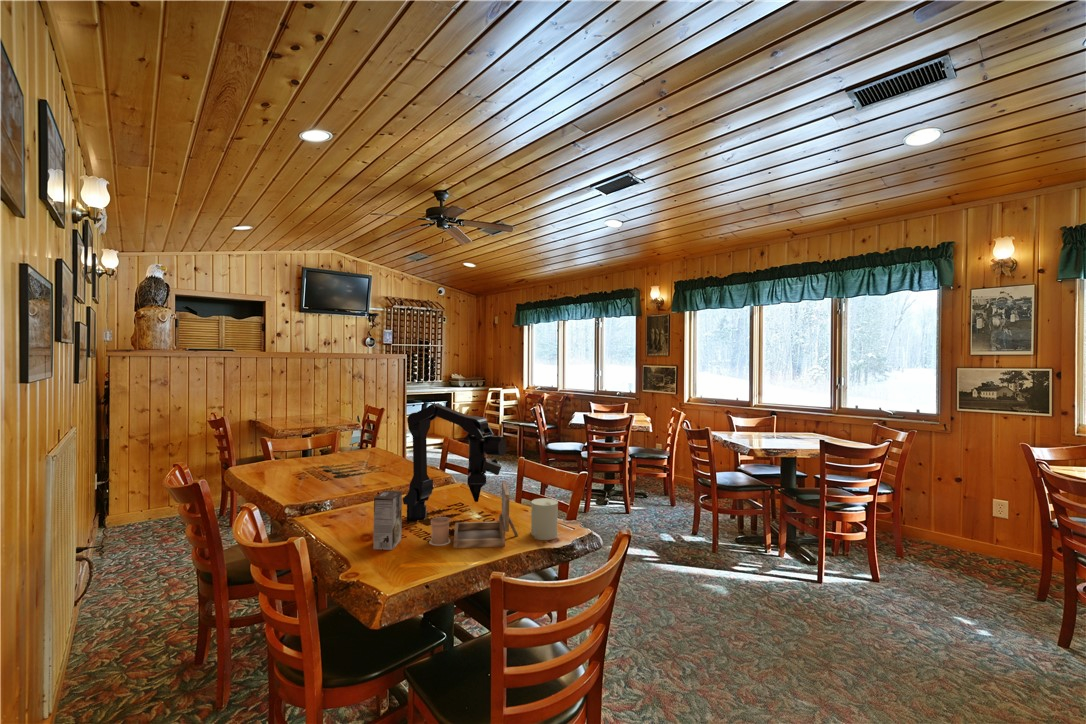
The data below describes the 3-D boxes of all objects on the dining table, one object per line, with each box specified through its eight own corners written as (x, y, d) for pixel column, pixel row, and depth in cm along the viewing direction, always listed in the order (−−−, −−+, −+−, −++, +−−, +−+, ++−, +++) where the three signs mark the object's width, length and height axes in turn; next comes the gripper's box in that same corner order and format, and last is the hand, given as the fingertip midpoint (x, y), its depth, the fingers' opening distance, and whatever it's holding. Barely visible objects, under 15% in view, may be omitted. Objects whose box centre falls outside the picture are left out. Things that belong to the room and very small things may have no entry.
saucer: (427, 548, 161) (427, 545, 161) (429, 540, 168) (429, 538, 168) (450, 547, 162) (450, 545, 162) (451, 539, 169) (451, 537, 169)
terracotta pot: (429, 545, 162) (430, 522, 162) (431, 538, 168) (431, 517, 168) (449, 544, 162) (449, 522, 162) (449, 537, 168) (450, 516, 168)
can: (539, 542, 168) (540, 505, 168) (525, 533, 176) (526, 498, 176) (563, 537, 173) (563, 501, 173) (548, 529, 181) (548, 495, 181)
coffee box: (382, 539, 168) (383, 490, 168) (401, 540, 168) (402, 490, 168) (372, 549, 159) (373, 497, 159) (392, 550, 159) (393, 498, 159)
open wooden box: (453, 552, 159) (454, 496, 159) (455, 531, 178) (456, 481, 178) (522, 549, 162) (522, 494, 162) (516, 529, 181) (517, 480, 181)
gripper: (501, 458, 171) (500, 505, 171) (498, 448, 190) (498, 491, 190) (467, 458, 170) (467, 506, 170) (468, 449, 188) (467, 491, 188)
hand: (476, 498), depth 179 cm, fingers open, 9 cm apart
